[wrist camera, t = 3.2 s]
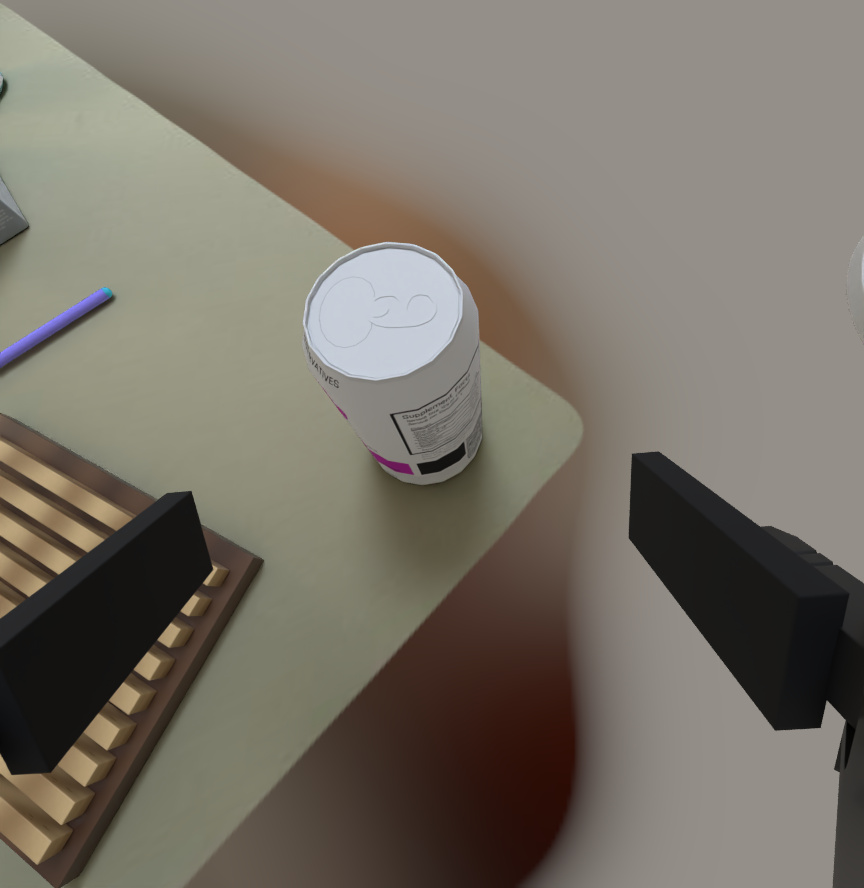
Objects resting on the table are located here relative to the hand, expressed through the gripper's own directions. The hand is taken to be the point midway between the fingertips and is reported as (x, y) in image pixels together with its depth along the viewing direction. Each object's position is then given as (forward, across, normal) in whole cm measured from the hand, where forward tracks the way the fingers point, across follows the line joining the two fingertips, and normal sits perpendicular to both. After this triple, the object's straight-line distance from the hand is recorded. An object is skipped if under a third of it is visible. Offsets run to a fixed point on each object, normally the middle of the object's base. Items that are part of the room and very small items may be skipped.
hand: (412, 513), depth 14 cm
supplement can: (+20, 0, -4) cm, 20 cm away
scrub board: (+15, -28, -12) cm, 34 cm away
